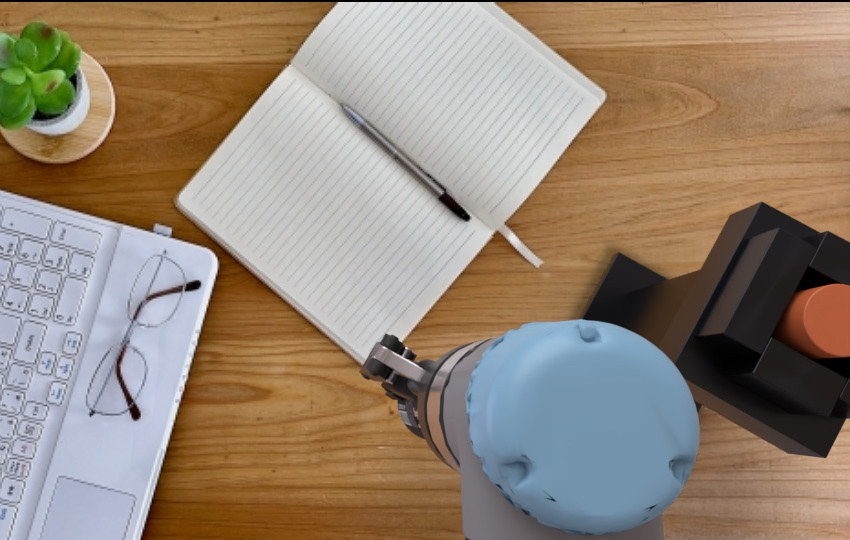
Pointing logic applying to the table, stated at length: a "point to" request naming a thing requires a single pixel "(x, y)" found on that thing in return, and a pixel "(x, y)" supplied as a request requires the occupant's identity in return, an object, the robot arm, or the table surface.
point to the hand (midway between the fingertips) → (433, 403)
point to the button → (817, 322)
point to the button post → (742, 326)
